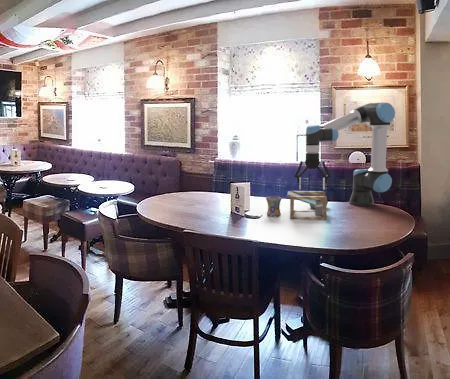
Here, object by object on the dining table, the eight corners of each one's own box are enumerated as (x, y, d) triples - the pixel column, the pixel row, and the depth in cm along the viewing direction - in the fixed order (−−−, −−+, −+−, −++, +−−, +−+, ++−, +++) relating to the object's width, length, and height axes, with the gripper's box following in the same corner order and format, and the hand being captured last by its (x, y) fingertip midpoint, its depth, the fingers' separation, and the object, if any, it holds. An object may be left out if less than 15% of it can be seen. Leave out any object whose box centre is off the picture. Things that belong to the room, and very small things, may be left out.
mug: (283, 217, 234) (283, 199, 232) (267, 217, 234) (267, 199, 232) (279, 212, 246) (279, 195, 244) (264, 212, 246) (264, 195, 244)
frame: (323, 212, 243) (324, 191, 241) (326, 219, 226) (326, 197, 224) (290, 211, 247) (290, 190, 245) (290, 218, 229) (290, 196, 227)
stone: (315, 213, 238) (325, 212, 237) (315, 215, 233) (326, 214, 232) (314, 205, 237) (324, 204, 236) (314, 207, 232) (325, 206, 231)
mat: (319, 213, 241) (319, 212, 241) (321, 218, 229) (321, 217, 229) (294, 212, 244) (294, 211, 244) (294, 217, 231) (294, 216, 231)
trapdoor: (314, 202, 241) (315, 199, 241) (315, 207, 228) (316, 204, 228) (287, 193, 243) (288, 190, 243) (286, 197, 230) (287, 194, 229)
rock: (325, 195, 262) (330, 193, 255) (323, 211, 261) (328, 209, 253) (305, 191, 262) (309, 189, 254) (303, 207, 260) (307, 205, 252)
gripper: (334, 152, 231) (333, 188, 235) (290, 152, 235) (290, 187, 239) (335, 153, 224) (334, 190, 228) (290, 153, 228) (290, 190, 232)
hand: (311, 189), depth 233 cm, fingers open, 13 cm apart
